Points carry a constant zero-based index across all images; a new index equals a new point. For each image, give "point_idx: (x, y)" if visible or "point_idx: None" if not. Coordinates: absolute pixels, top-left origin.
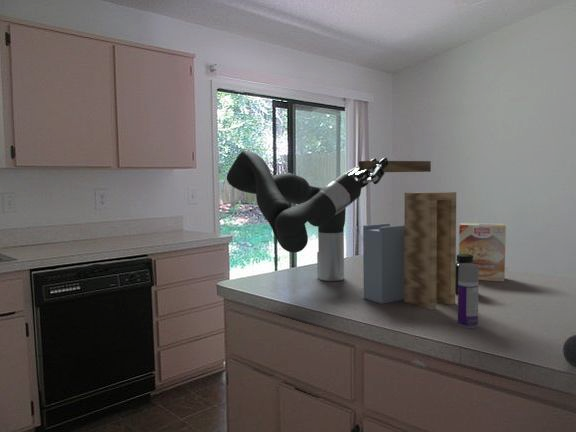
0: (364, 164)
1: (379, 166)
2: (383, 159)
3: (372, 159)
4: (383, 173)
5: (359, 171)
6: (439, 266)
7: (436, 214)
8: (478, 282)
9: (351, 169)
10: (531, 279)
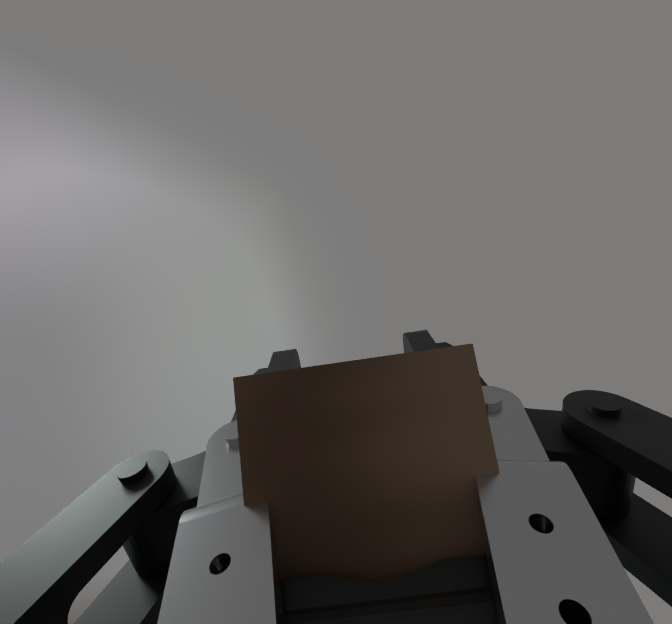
0: (396, 421)
1: (641, 415)
2: (432, 343)
3: (283, 359)
4: (644, 504)
5: (291, 590)
6: None
7: None
8: None
9: (29, 550)
10: None
